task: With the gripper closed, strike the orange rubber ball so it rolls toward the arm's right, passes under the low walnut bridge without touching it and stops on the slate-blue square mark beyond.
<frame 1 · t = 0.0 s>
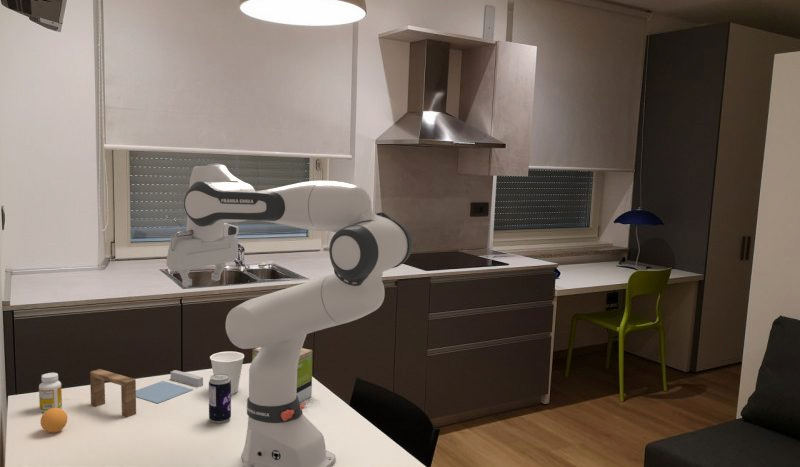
hand: (201, 283, 162), 39 cm above the table, tool pointing down, fingers open, 8 cm apart
beverage can: (220, 420, 175), on the table
bridge: (113, 409, 179), on the table
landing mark: (160, 392, 193), on the table
supplement bottle: (51, 409, 178), on the table
grey rectangular bar: (186, 382, 202), on the table
ball: (54, 420, 164), on the table
tea box: (282, 397, 192), on the table
cup: (227, 392, 195), on the table
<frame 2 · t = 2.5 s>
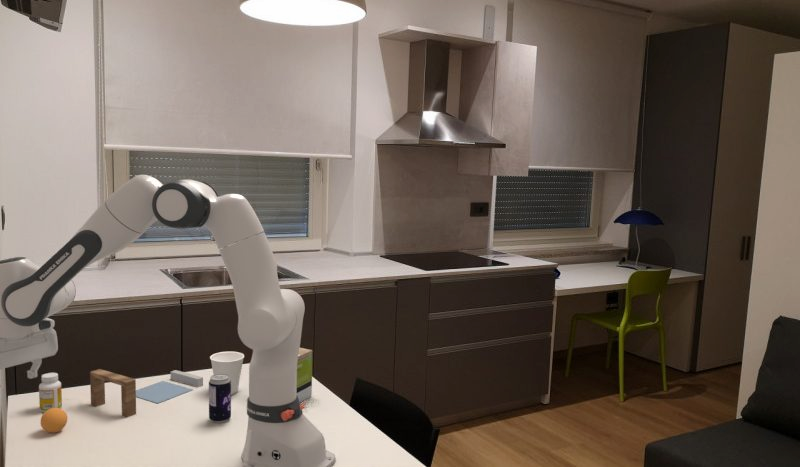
hand: (14, 382, 154), 16 cm above the table, tool pointing down, fingers open, 7 cm apart
nothing on the table moved.
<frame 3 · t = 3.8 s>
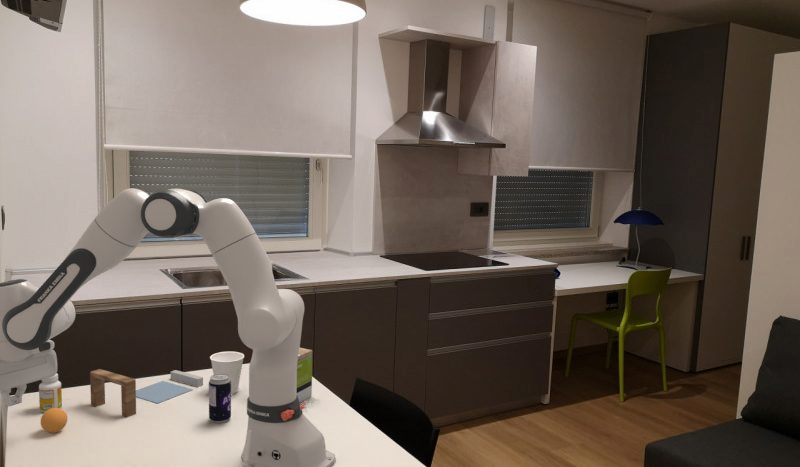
hand: (13, 404, 155), 10 cm above the table, tool pointing down, fingers closed
nothing on the table moved.
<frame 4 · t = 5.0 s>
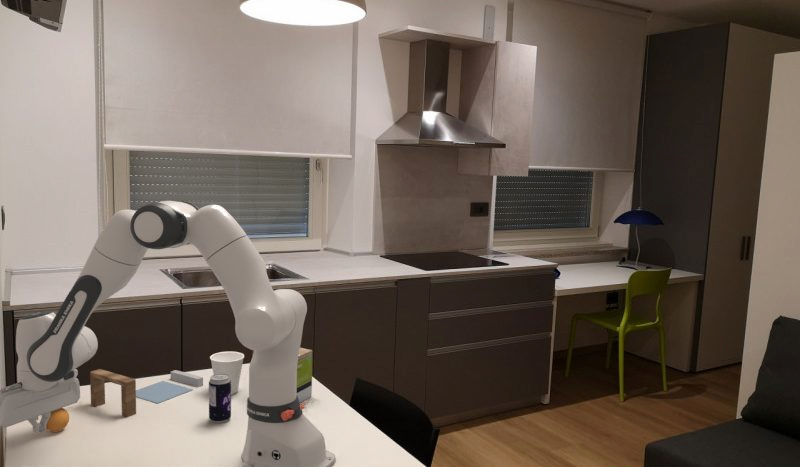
hand: (39, 431, 161), 2 cm above the table, tool pointing down, fingers closed
ball: (56, 419, 165), on the table, touching gripper
everything else where it was.
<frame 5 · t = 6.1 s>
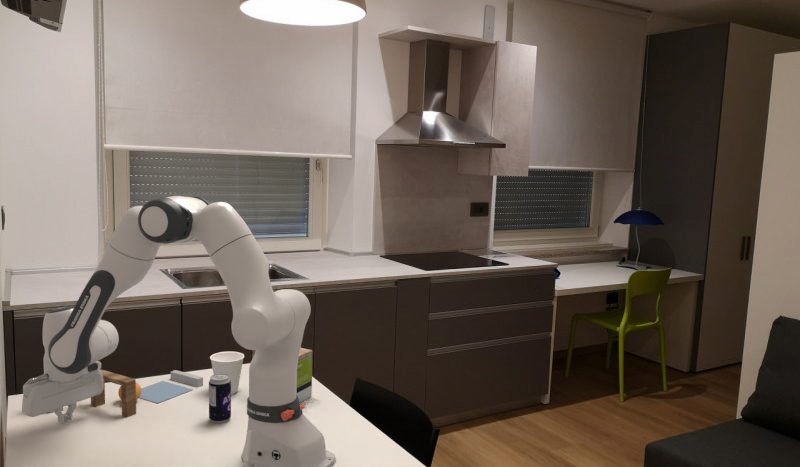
hand: (65, 421, 167), 2 cm above the table, tool pointing down, fingers closed
ball: (129, 391, 184), on the table
everything else where it was.
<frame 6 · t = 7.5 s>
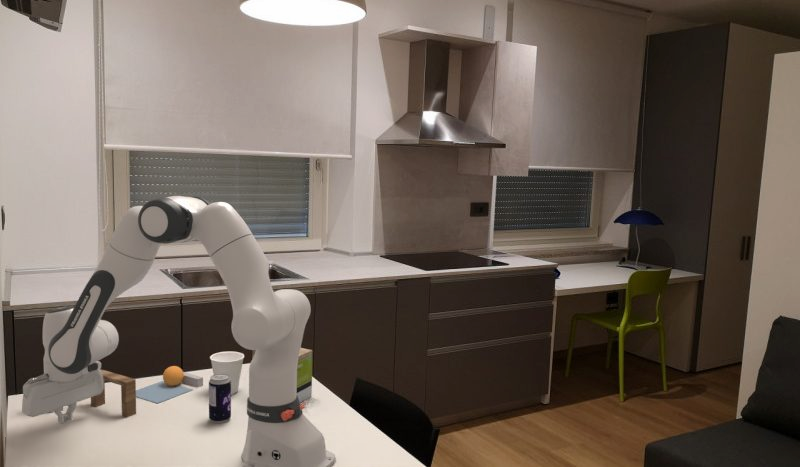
hand: (65, 421, 167), 2 cm above the table, tool pointing down, fingers closed
ball: (173, 376, 198), on the table
everything else where it was.
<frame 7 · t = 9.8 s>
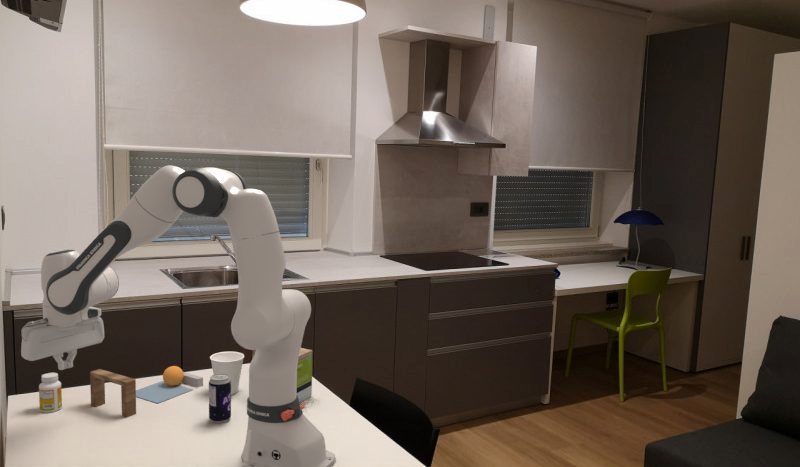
hand: (65, 368, 164), 16 cm above the table, tool pointing down, fingers closed
nothing on the table moved.
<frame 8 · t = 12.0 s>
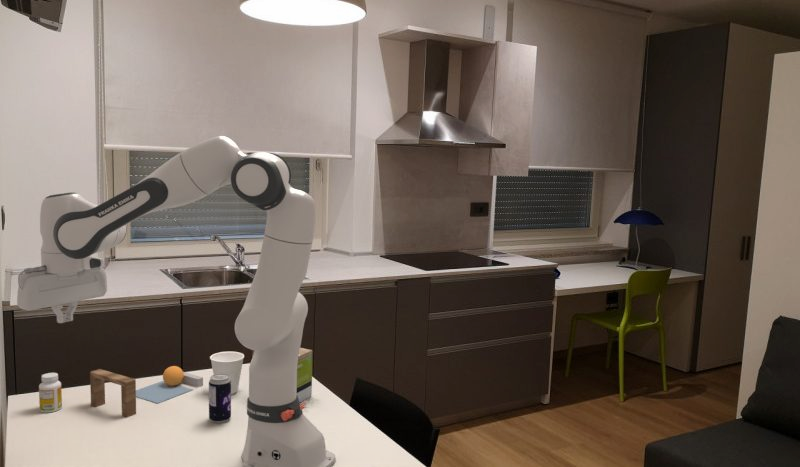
hand: (65, 321, 151), 31 cm above the table, tool pointing down, fingers closed
nothing on the table moved.
at the end: ball 6.0 cm from the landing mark (horizontally); ball never touched bridge; ball at rest at the end (0.0 cm/s) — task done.
